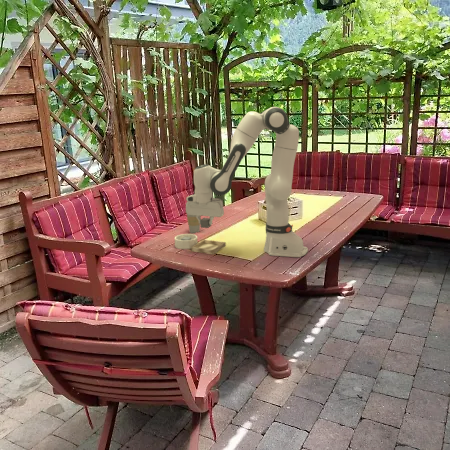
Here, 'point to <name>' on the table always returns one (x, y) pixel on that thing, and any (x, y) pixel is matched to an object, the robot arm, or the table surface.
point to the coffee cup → (193, 223)
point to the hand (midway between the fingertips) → (205, 224)
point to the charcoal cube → (205, 222)
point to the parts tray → (208, 246)
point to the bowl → (185, 241)
